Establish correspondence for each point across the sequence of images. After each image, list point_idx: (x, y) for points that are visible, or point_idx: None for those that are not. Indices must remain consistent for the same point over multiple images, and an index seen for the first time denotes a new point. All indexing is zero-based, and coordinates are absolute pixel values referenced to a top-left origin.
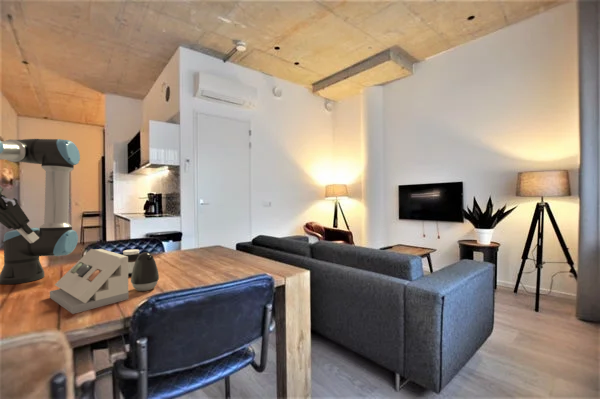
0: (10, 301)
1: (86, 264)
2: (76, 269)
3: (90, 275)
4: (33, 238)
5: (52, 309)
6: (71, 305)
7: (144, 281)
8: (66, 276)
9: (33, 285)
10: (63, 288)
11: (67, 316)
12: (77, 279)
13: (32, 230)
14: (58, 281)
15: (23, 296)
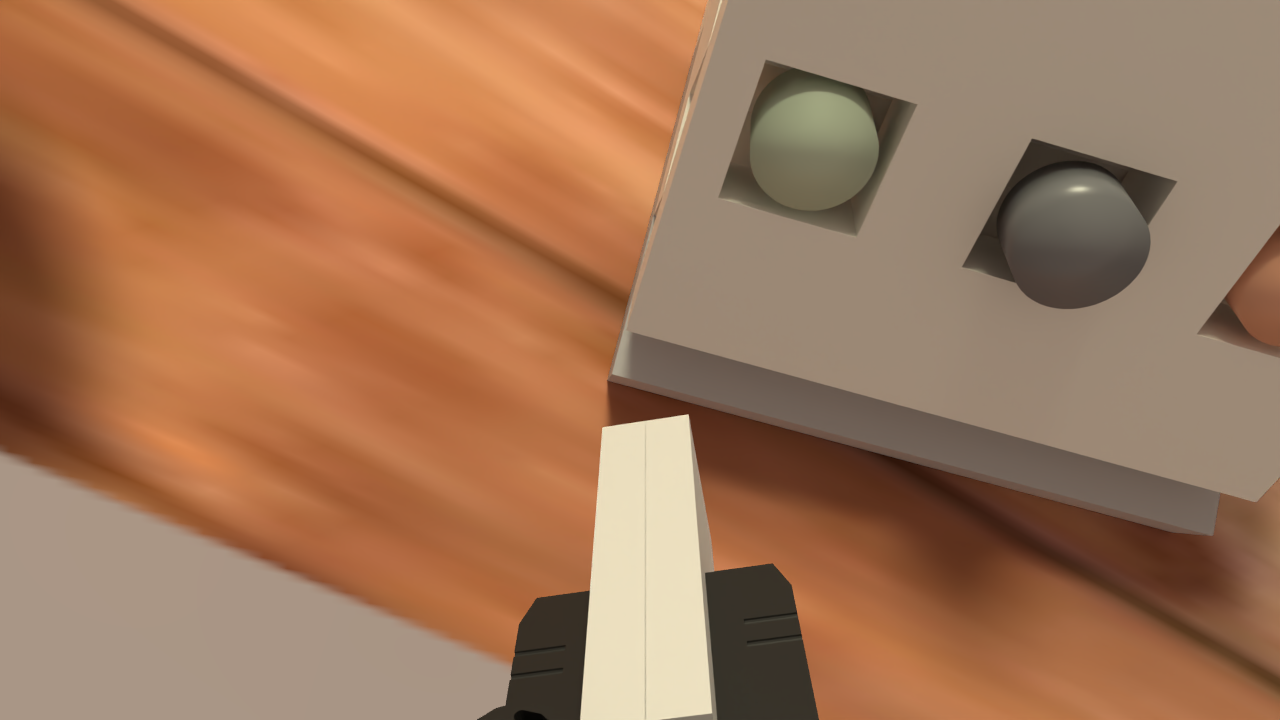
0: (378, 573)
1: (1119, 196)
2: (837, 181)
3: (1243, 297)
4: (707, 532)
5: (933, 536)
6: (1182, 526)
7: None
8: (732, 254)
9: (6, 212)
10: (869, 385)
11: (1182, 574)
12: (1022, 316)
13: (790, 586)
14: (647, 298)
15: (328, 451)
